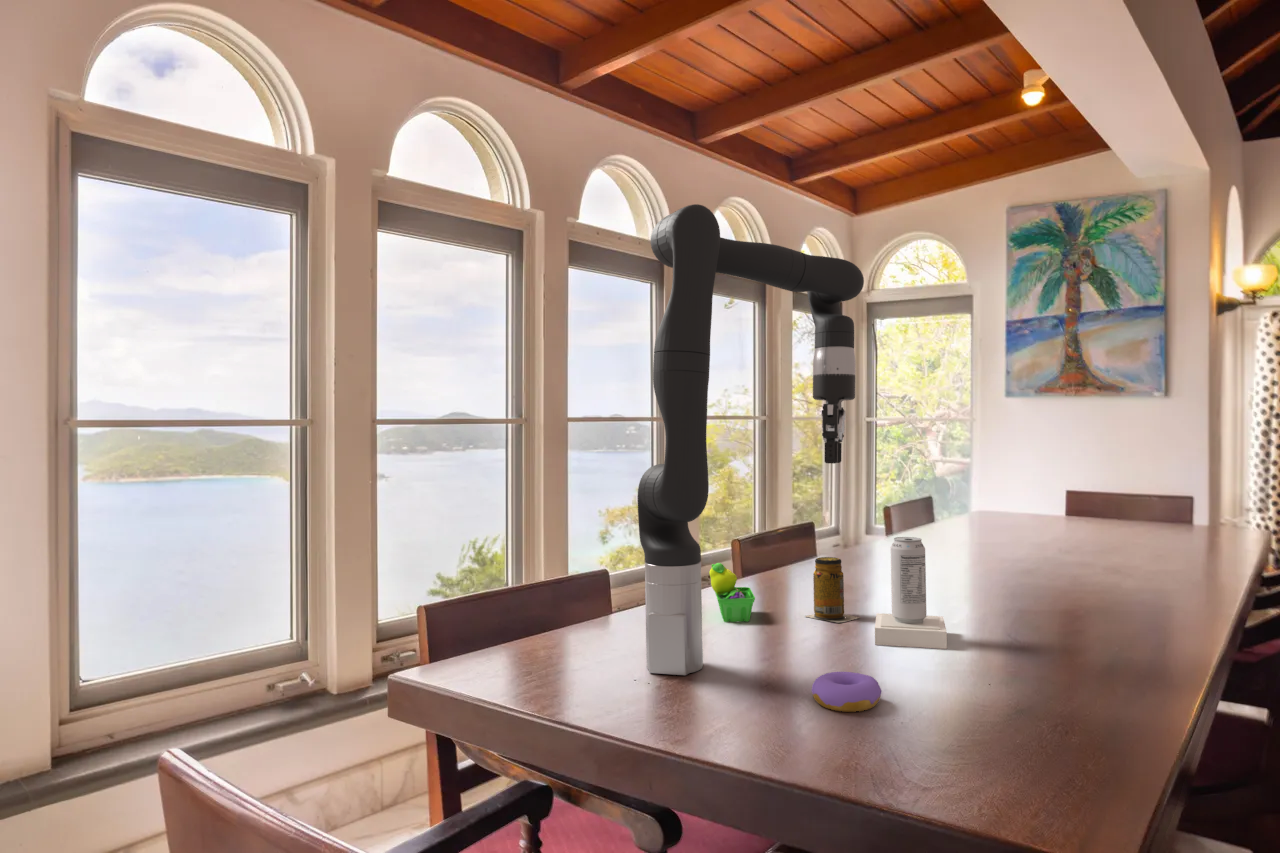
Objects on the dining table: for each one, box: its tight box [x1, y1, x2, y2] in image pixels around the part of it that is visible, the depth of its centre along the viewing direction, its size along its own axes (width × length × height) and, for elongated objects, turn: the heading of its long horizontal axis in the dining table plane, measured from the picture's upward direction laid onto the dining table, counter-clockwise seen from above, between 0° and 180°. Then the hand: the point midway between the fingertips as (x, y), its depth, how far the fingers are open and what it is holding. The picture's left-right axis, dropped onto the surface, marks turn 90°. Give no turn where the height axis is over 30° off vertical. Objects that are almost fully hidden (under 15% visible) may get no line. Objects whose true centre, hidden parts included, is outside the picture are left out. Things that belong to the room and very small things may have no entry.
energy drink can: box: [890, 536, 927, 624], centre depth 152 cm, size 6×6×15 cm
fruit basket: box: [708, 562, 756, 623], centre depth 172 cm, size 11×9×11 cm
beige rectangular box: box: [874, 612, 948, 650], centre depth 152 cm, size 12×12×3 cm
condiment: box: [805, 556, 861, 624], centre depth 170 cm, size 7×8×12 cm
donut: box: [811, 671, 882, 713], centre depth 117 cm, size 10×9×5 cm
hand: (833, 463), depth 150 cm, fingers open, 8 cm apart
